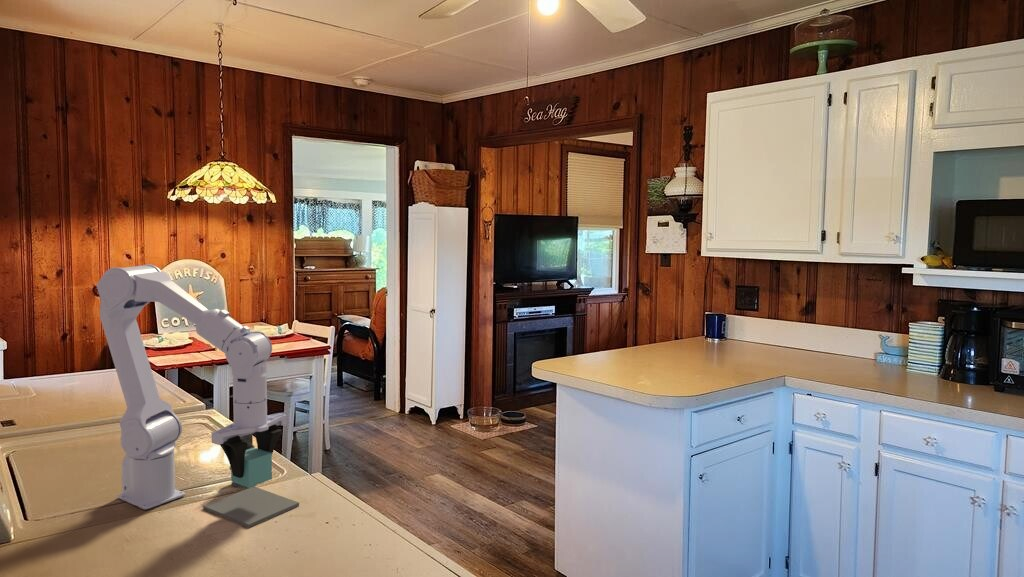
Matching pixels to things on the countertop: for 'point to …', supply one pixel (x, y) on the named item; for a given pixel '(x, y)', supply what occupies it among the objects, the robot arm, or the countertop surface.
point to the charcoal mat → (251, 506)
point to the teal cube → (255, 468)
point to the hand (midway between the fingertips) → (251, 471)
